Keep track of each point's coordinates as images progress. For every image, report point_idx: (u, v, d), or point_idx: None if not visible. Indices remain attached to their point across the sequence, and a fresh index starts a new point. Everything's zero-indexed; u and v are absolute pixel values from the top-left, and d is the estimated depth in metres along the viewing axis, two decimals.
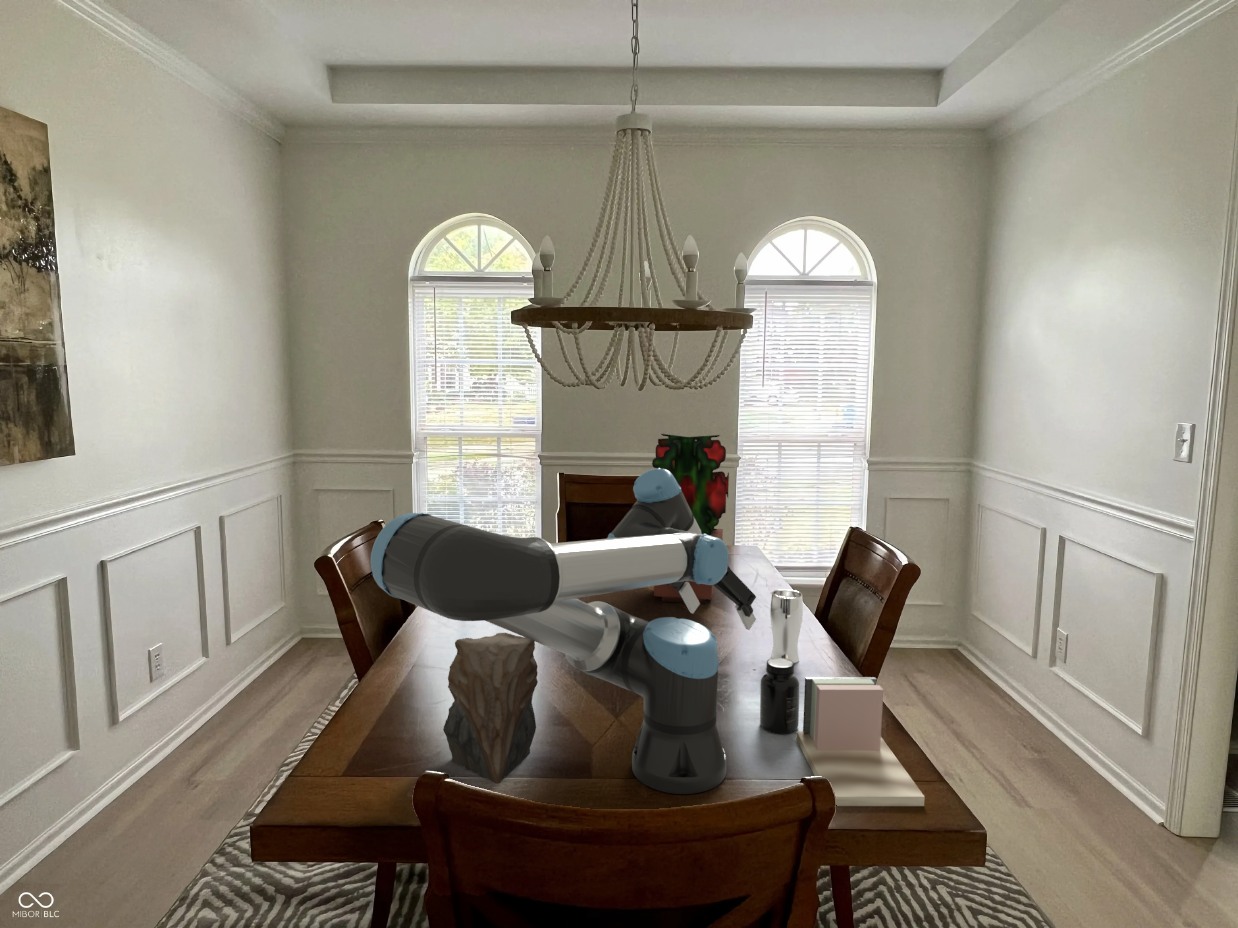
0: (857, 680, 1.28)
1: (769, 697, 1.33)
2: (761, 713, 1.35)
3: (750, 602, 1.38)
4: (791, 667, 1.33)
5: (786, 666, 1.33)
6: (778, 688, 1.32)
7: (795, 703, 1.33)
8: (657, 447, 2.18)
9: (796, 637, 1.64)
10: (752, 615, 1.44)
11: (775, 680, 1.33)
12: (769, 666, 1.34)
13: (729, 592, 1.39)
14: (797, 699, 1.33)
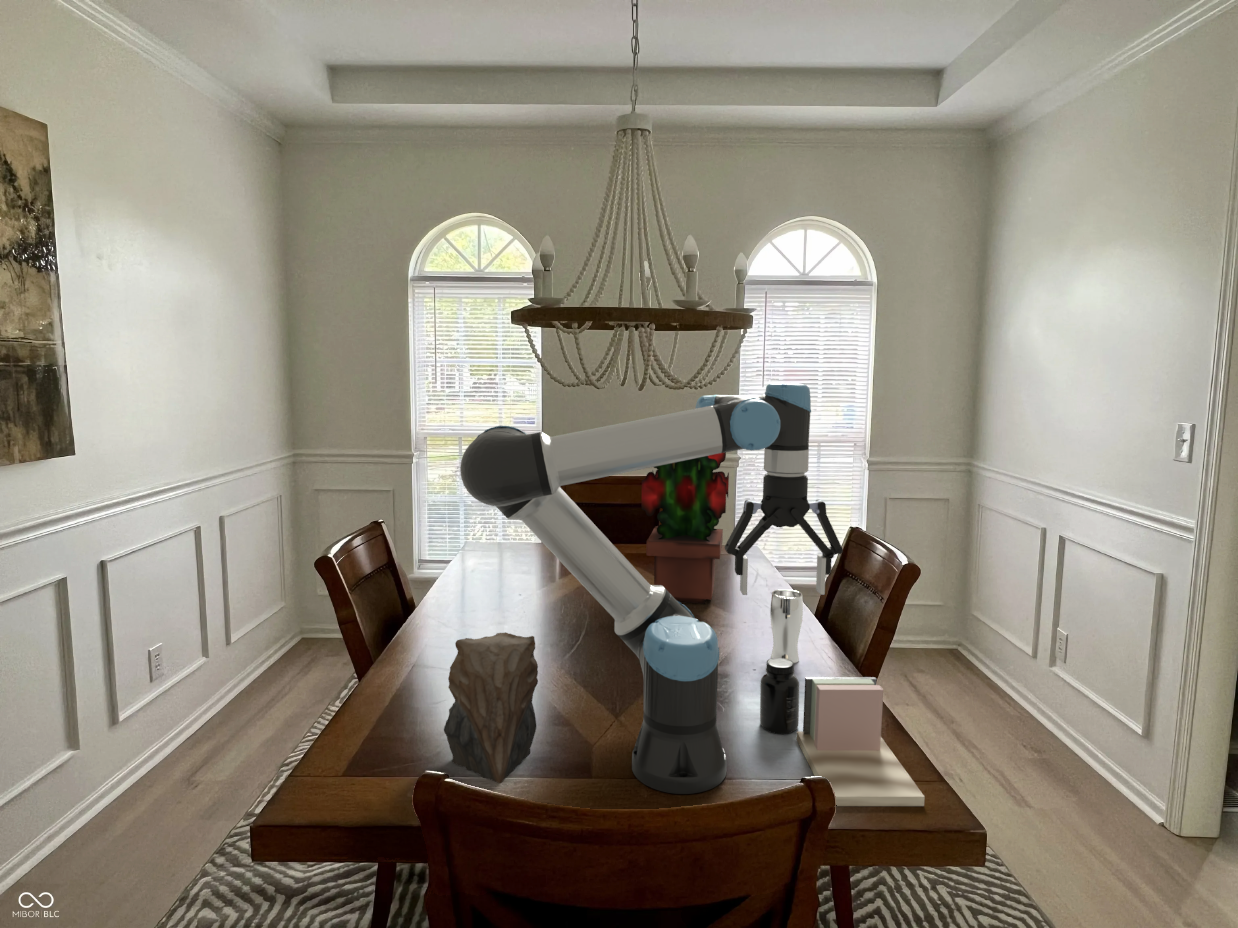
0: (857, 680, 1.28)
1: (769, 697, 1.33)
2: (761, 713, 1.35)
3: None
4: (791, 667, 1.33)
5: (786, 666, 1.33)
6: (778, 688, 1.32)
7: (795, 703, 1.33)
8: None
9: (796, 637, 1.64)
10: None
11: (775, 680, 1.33)
12: (769, 666, 1.34)
13: None
14: (797, 699, 1.33)
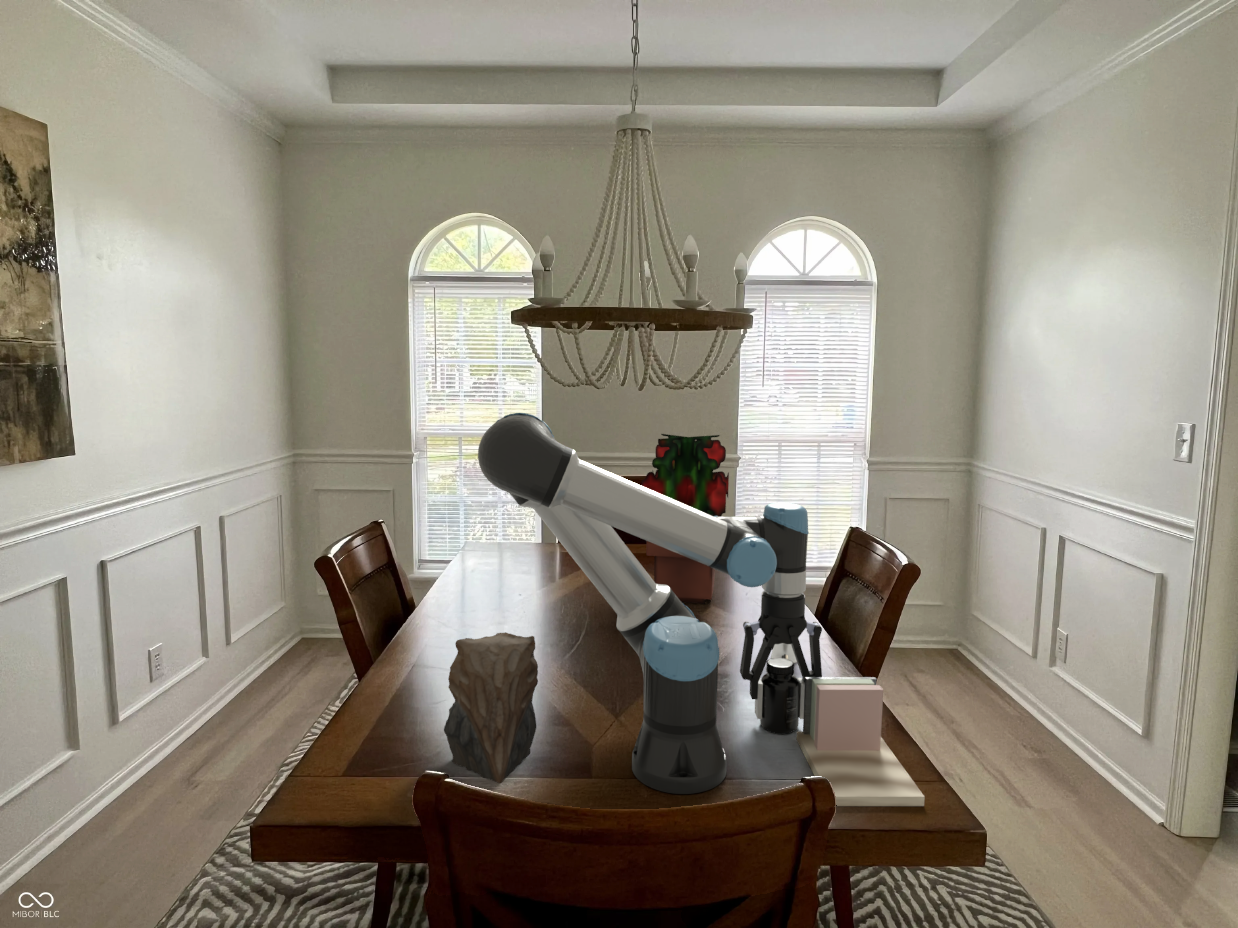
0: (857, 680, 1.28)
1: (769, 697, 1.33)
2: None
3: None
4: (791, 667, 1.33)
5: (786, 666, 1.33)
6: (778, 687, 1.32)
7: (795, 703, 1.33)
8: (657, 447, 2.18)
9: None
10: None
11: (775, 680, 1.33)
12: (769, 666, 1.34)
13: (805, 662, 1.34)
14: (797, 699, 1.33)
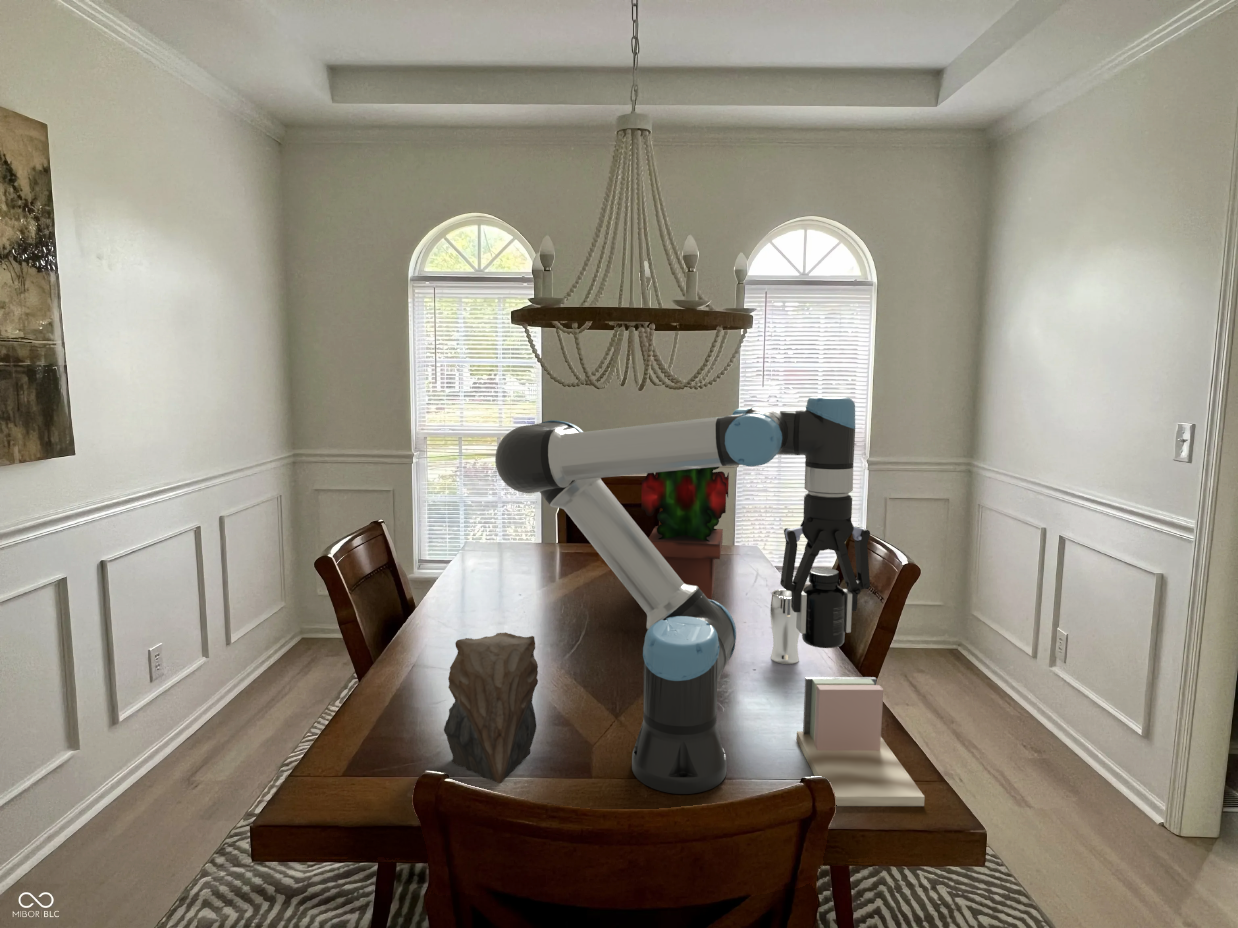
0: (857, 680, 1.28)
1: (814, 608, 1.22)
2: None
3: None
4: (837, 575, 1.22)
5: (832, 574, 1.22)
6: (824, 597, 1.21)
7: (842, 615, 1.22)
8: None
9: (796, 637, 1.64)
10: None
11: (820, 590, 1.22)
12: (813, 575, 1.23)
13: None
14: (844, 610, 1.23)
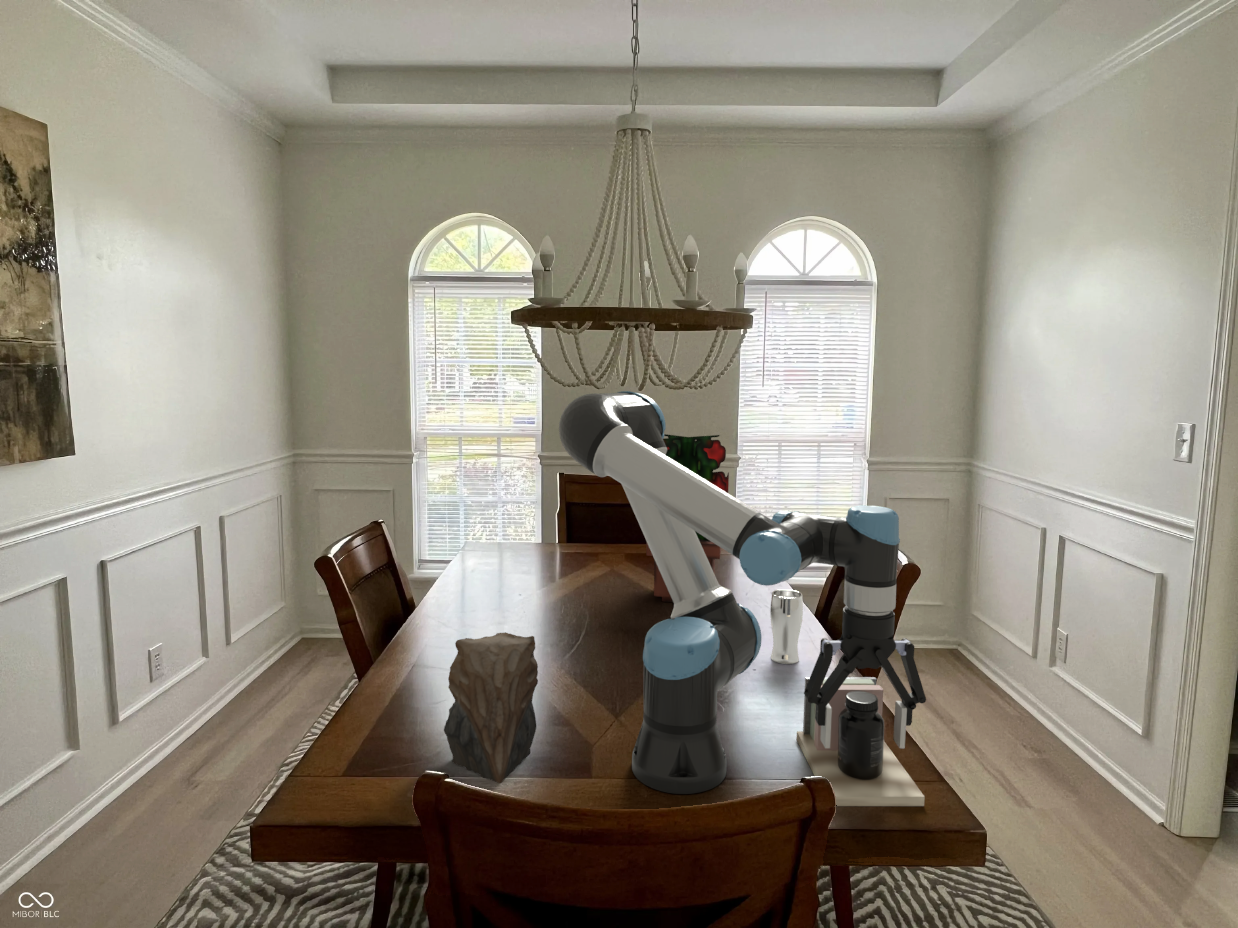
0: (857, 680, 1.28)
1: (850, 738, 1.15)
2: (840, 755, 1.18)
3: None
4: (875, 703, 1.16)
5: (870, 702, 1.15)
6: (861, 727, 1.14)
7: (881, 744, 1.16)
8: None
9: (796, 637, 1.64)
10: None
11: (857, 718, 1.15)
12: (850, 701, 1.16)
13: None
14: (882, 739, 1.16)
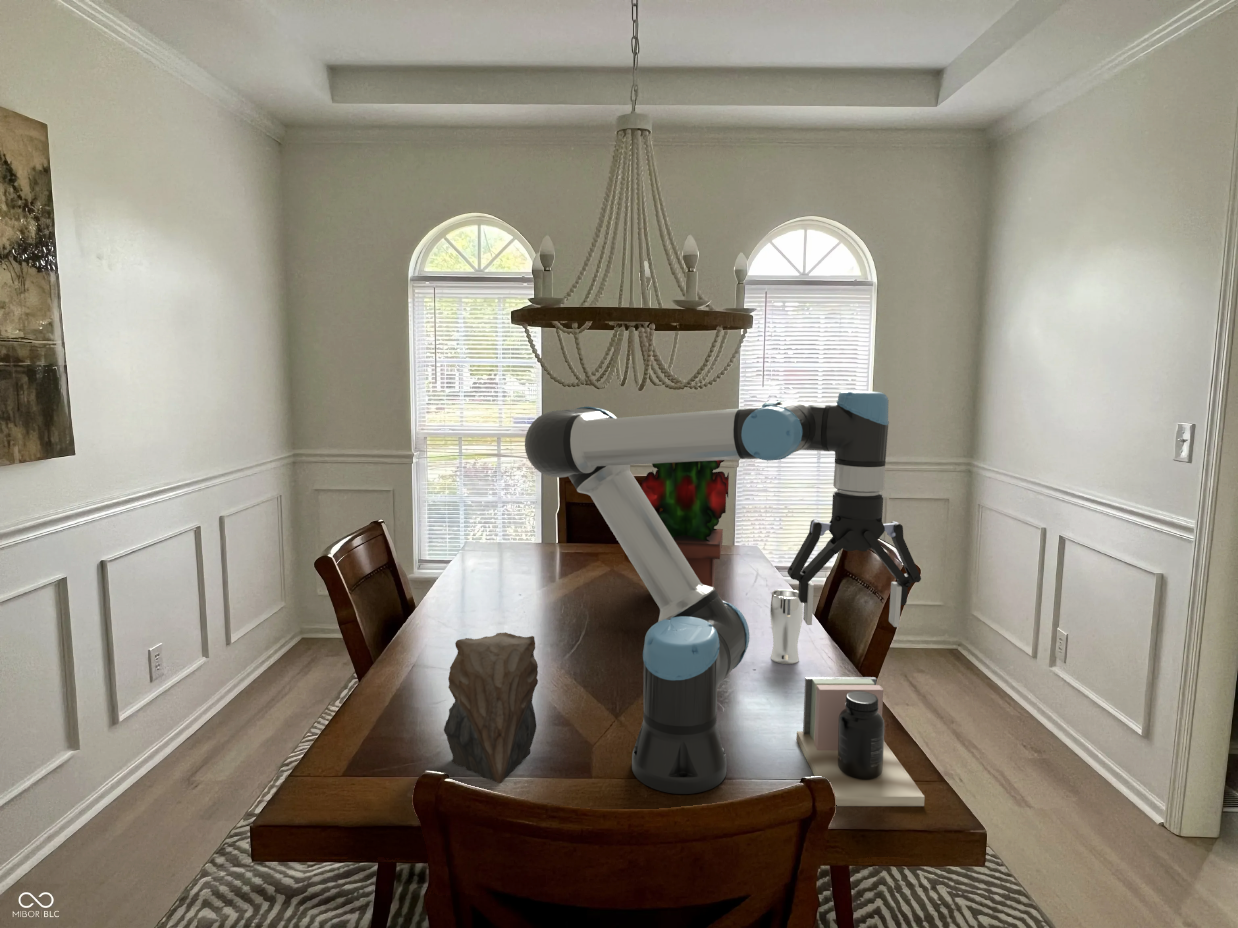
0: (857, 680, 1.28)
1: (850, 738, 1.15)
2: (840, 755, 1.18)
3: None
4: (876, 703, 1.16)
5: (870, 702, 1.15)
6: (862, 727, 1.14)
7: (881, 745, 1.15)
8: None
9: (796, 637, 1.64)
10: None
11: (857, 718, 1.15)
12: (850, 701, 1.16)
13: (895, 564, 1.18)
14: (882, 739, 1.16)
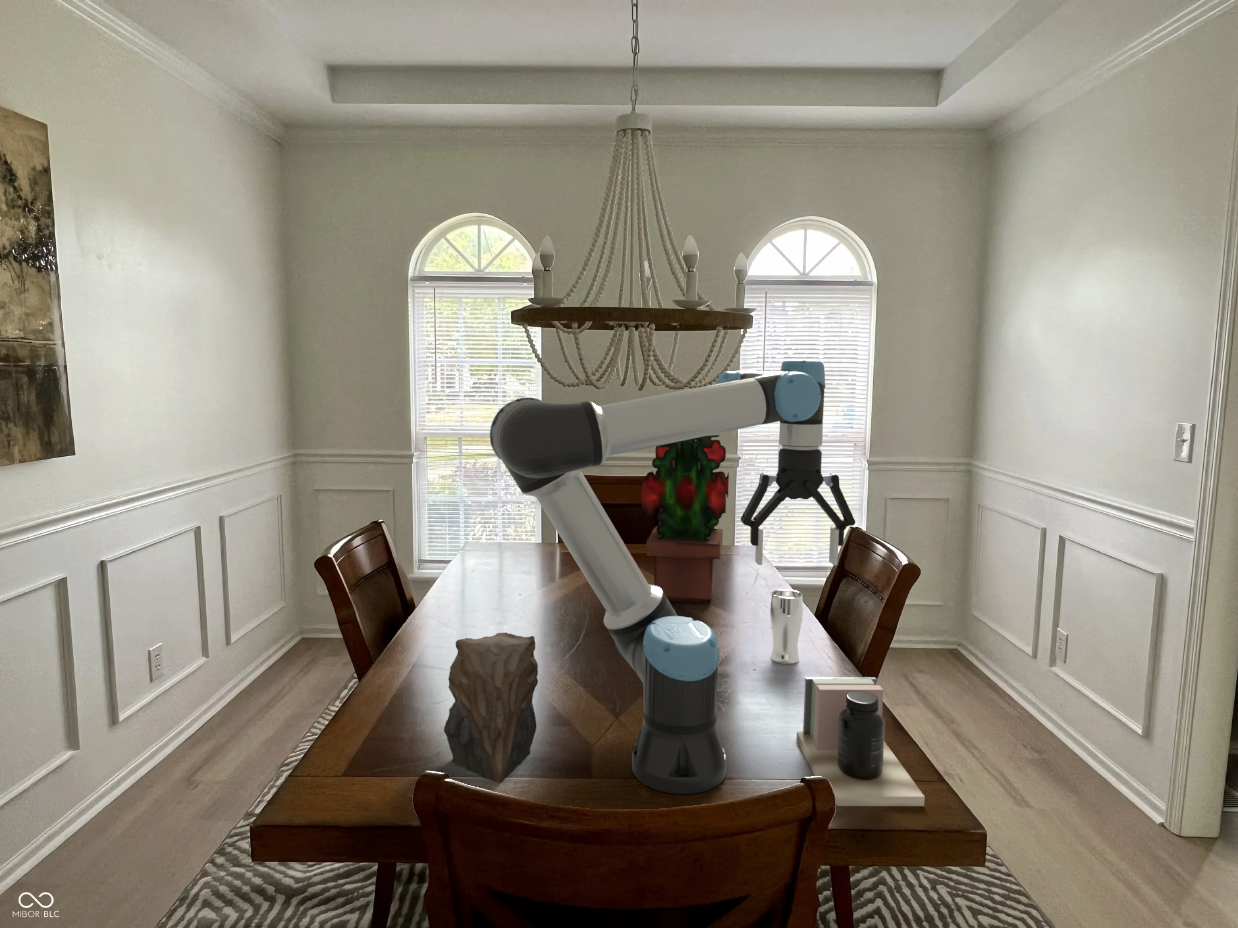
0: (857, 680, 1.28)
1: (850, 738, 1.15)
2: (840, 755, 1.18)
3: (853, 520, 1.36)
4: (876, 703, 1.16)
5: (870, 702, 1.15)
6: (862, 727, 1.14)
7: (881, 745, 1.15)
8: (657, 447, 2.18)
9: (796, 637, 1.64)
10: None
11: (857, 718, 1.15)
12: (850, 701, 1.16)
13: (833, 510, 1.36)
14: (882, 740, 1.16)
